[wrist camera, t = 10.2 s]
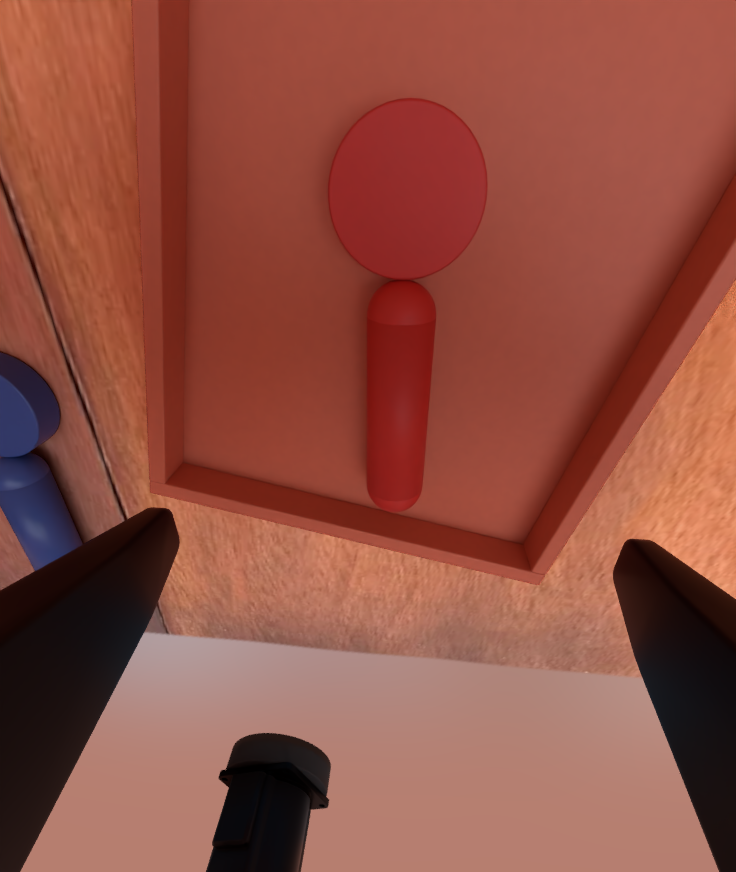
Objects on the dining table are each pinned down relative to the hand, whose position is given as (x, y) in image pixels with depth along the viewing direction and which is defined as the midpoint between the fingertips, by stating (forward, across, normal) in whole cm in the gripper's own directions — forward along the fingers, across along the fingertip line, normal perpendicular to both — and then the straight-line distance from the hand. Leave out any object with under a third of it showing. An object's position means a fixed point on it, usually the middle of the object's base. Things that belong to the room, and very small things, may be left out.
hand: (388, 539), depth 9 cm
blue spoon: (+8, +15, +5) cm, 18 cm away
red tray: (+8, -3, -14) cm, 16 cm away
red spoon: (+7, 0, -2) cm, 7 cm away
